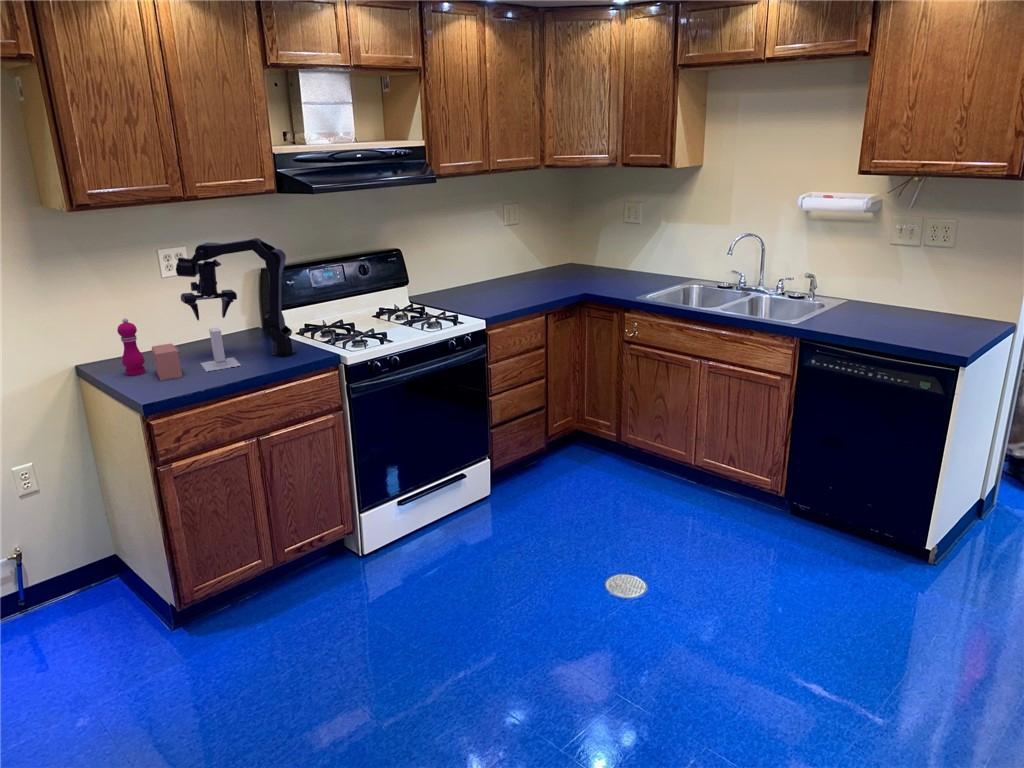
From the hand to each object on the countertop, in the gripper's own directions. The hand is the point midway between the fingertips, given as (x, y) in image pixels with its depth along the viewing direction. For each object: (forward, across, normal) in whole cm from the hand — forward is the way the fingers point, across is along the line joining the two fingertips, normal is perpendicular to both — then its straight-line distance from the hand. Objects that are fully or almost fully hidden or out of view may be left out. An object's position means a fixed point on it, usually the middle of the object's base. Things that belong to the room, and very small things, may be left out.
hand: (210, 319), depth 274 cm
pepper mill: (+16, +28, +3) cm, 32 cm away
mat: (+14, +2, +14) cm, 20 cm away
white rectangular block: (+14, +2, +14) cm, 20 cm away
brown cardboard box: (+15, +19, +12) cm, 27 cm away
